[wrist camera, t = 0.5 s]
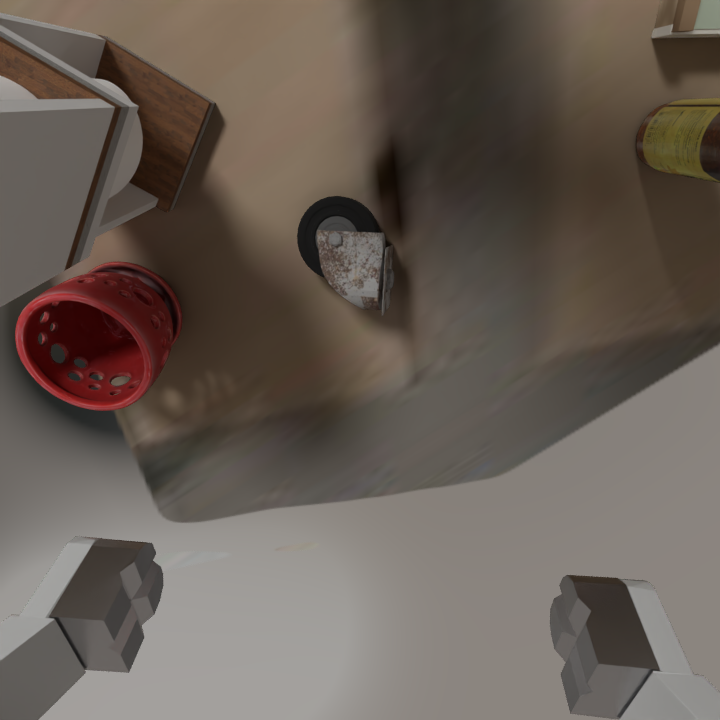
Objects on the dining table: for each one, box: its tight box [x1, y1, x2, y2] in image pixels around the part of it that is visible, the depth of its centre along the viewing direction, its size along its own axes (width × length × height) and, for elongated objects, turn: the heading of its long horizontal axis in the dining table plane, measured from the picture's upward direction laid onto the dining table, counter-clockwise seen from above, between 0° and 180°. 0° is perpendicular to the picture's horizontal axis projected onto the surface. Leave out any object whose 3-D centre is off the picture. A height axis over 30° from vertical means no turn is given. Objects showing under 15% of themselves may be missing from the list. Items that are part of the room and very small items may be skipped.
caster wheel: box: [297, 196, 394, 316], centre depth 52 cm, size 7×11×10 cm
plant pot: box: [15, 262, 182, 411], centre depth 53 cm, size 13×13×12 cm
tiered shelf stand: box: [0, 13, 215, 307], centre depth 33 cm, size 11×11×35 cm
